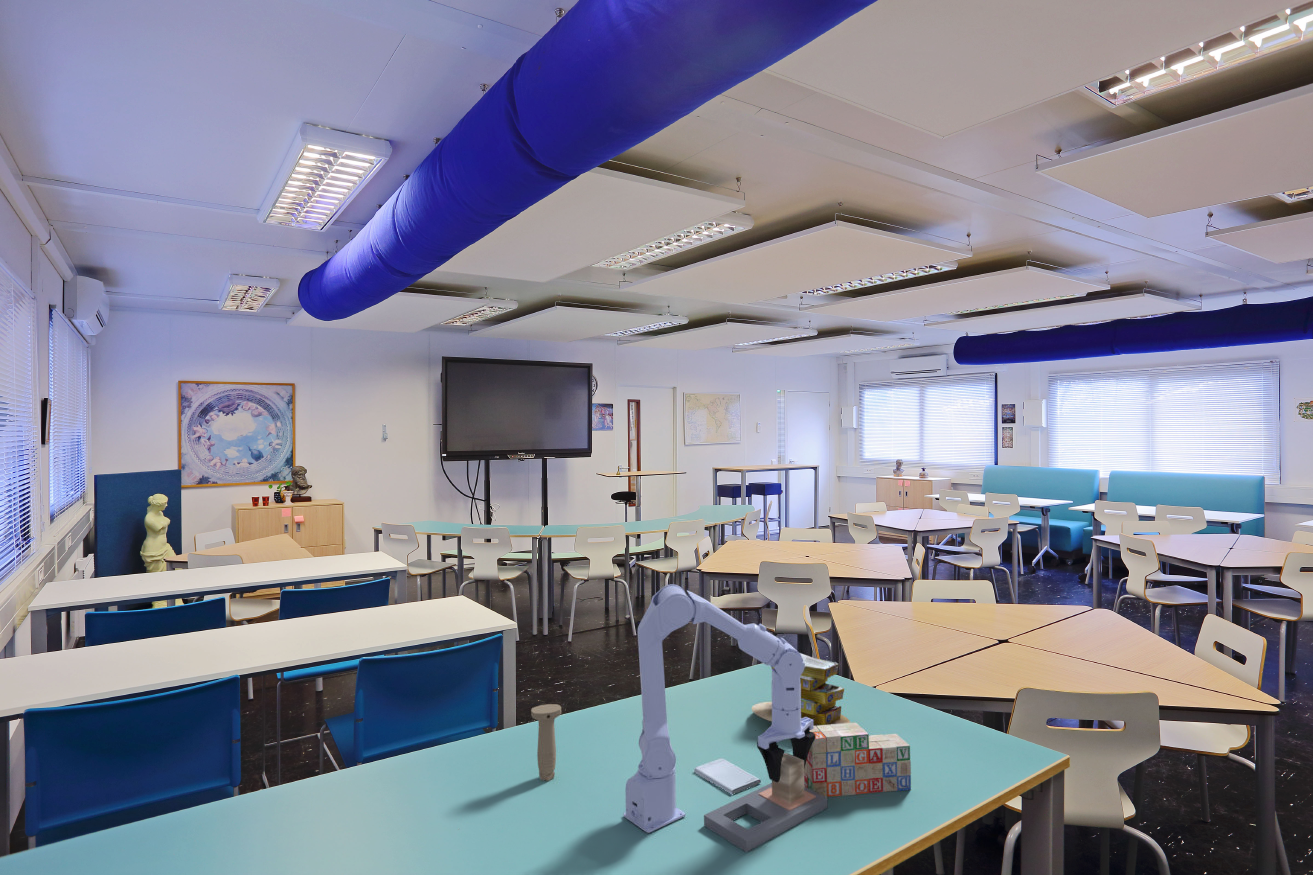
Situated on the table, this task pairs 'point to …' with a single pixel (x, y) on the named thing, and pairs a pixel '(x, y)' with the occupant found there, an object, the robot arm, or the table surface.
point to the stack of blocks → (856, 761)
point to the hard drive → (727, 776)
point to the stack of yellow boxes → (814, 694)
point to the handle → (546, 739)
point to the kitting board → (762, 816)
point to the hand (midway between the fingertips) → (787, 773)
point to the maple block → (790, 779)
